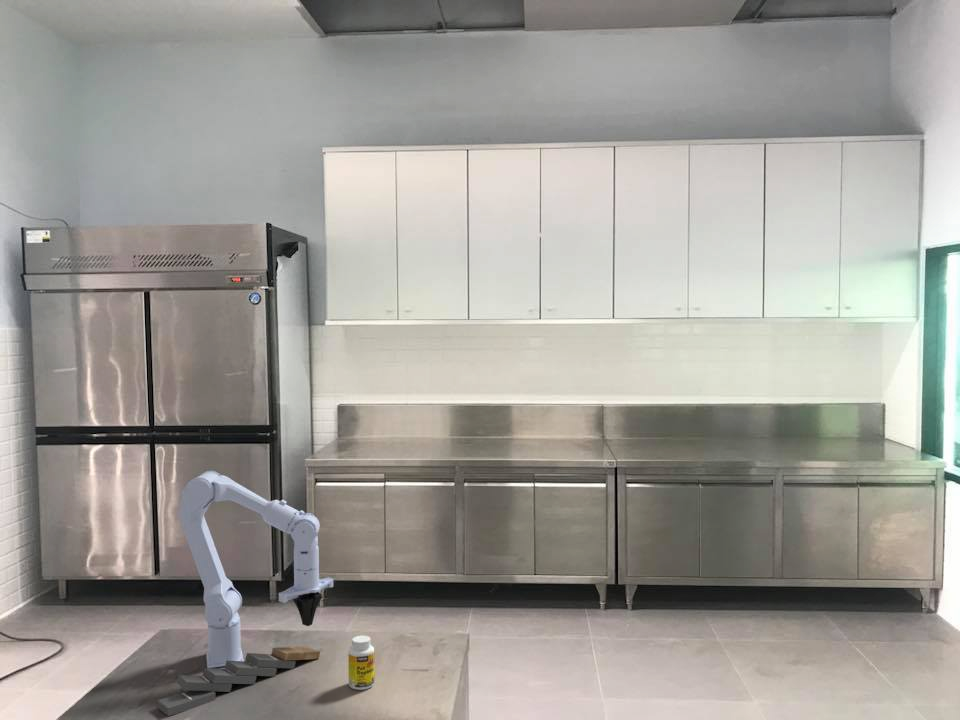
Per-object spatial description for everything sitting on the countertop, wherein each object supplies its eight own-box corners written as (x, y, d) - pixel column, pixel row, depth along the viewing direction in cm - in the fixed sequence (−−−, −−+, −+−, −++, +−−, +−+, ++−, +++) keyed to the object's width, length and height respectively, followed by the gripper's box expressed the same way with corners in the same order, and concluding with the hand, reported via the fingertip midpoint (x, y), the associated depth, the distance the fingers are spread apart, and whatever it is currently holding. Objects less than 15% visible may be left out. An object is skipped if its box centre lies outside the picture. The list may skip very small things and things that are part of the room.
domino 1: (223, 676, 171) (178, 674, 165) (232, 683, 167) (187, 681, 161) (221, 685, 170) (176, 683, 164) (230, 692, 167) (184, 690, 161)
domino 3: (245, 669, 174) (204, 667, 168) (256, 676, 171) (215, 674, 164) (243, 677, 174) (202, 676, 167) (254, 684, 171) (213, 683, 164)
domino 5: (284, 654, 182) (247, 652, 175) (296, 660, 179) (258, 658, 172) (282, 662, 182) (244, 660, 175) (293, 669, 178) (256, 667, 172)
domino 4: (265, 661, 178) (226, 659, 171) (277, 668, 175) (237, 666, 168) (263, 670, 178) (224, 668, 171) (274, 676, 174) (235, 675, 168)
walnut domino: (306, 645, 187) (273, 647, 179) (320, 651, 184) (286, 652, 176) (305, 653, 187) (271, 655, 179) (318, 659, 184) (284, 661, 176)
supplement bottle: (355, 693, 166) (354, 645, 165) (344, 683, 170) (343, 637, 170) (379, 686, 169) (378, 640, 168) (367, 677, 173) (367, 631, 173)
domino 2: (204, 685, 167) (157, 699, 160) (215, 692, 163) (168, 707, 156) (204, 693, 167) (157, 708, 160) (215, 701, 163) (168, 716, 156)
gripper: (291, 578, 175) (292, 638, 176) (341, 563, 187) (342, 619, 187) (272, 572, 180) (273, 630, 180) (322, 557, 191) (323, 612, 192)
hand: (307, 624), depth 184 cm, fingers closed
